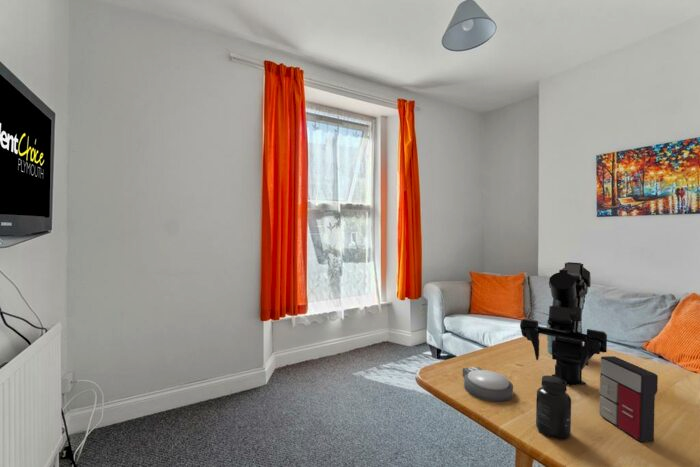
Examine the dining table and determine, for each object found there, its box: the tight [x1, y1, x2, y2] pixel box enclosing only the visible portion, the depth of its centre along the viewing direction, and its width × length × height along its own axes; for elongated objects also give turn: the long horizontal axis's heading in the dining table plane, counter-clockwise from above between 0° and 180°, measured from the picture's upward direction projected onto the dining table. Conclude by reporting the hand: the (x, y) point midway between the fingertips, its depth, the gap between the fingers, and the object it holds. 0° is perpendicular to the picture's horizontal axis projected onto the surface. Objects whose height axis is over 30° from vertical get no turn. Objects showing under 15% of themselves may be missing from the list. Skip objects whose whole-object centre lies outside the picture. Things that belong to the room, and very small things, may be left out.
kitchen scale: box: [462, 366, 514, 403], centre depth 95 cm, size 13×16×4 cm
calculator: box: [598, 355, 659, 443], centre depth 76 cm, size 11×4×15 cm, turn 5°
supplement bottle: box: [535, 374, 572, 441], centre depth 74 cm, size 7×7×12 cm
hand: (558, 364), depth 80 cm, fingers open, 9 cm apart
